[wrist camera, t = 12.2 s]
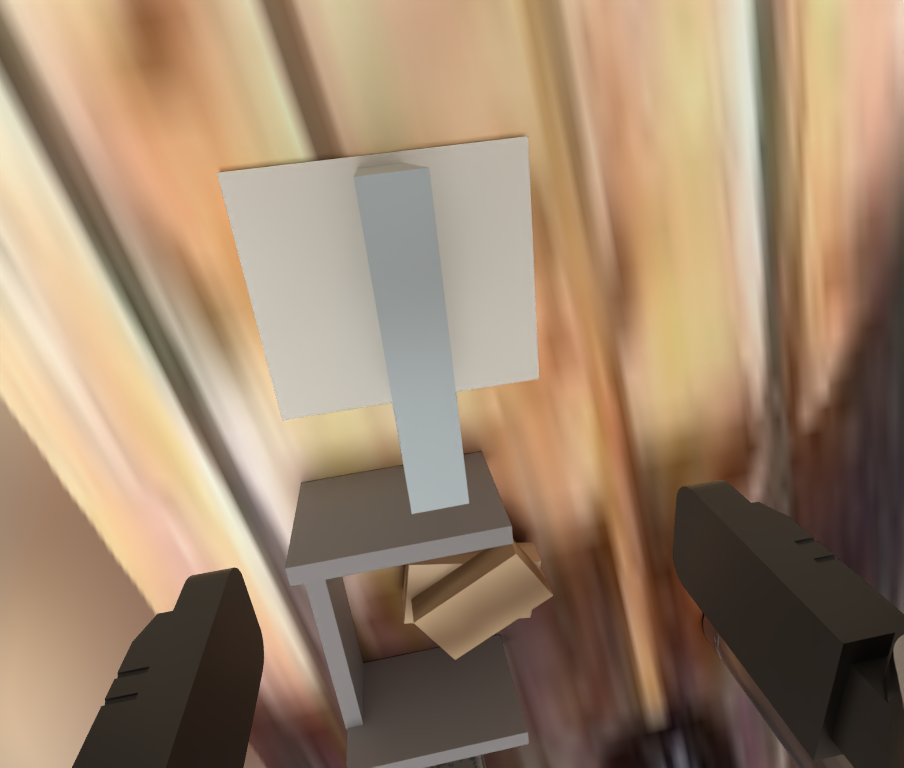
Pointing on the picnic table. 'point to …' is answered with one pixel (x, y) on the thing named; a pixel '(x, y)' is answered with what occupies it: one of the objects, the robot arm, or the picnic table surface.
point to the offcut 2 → (480, 598)
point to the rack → (416, 674)
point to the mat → (349, 281)
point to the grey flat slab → (414, 329)
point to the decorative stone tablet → (464, 763)
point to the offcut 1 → (443, 574)
